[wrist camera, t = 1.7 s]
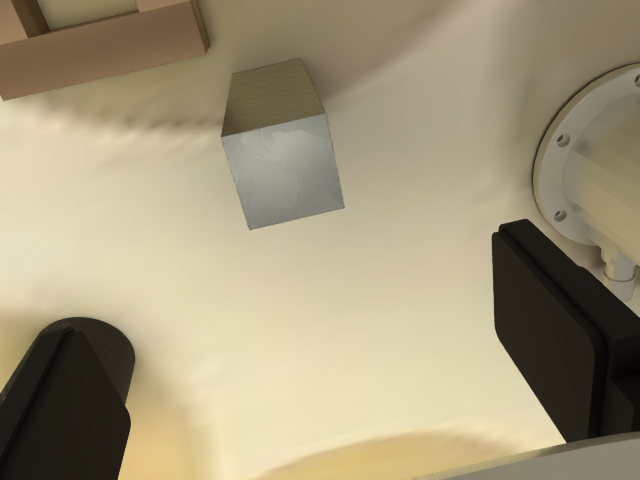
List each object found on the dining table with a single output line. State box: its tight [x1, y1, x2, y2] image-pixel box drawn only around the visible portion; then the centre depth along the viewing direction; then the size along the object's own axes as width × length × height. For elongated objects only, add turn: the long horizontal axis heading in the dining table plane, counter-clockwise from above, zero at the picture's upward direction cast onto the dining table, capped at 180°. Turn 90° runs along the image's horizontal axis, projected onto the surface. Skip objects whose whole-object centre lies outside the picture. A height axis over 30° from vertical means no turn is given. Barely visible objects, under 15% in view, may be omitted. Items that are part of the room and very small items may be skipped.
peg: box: [221, 58, 345, 230], centre depth 25 cm, size 4×4×12 cm
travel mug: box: [0, 318, 135, 407], centre depth 29 cm, size 8×8×20 cm
